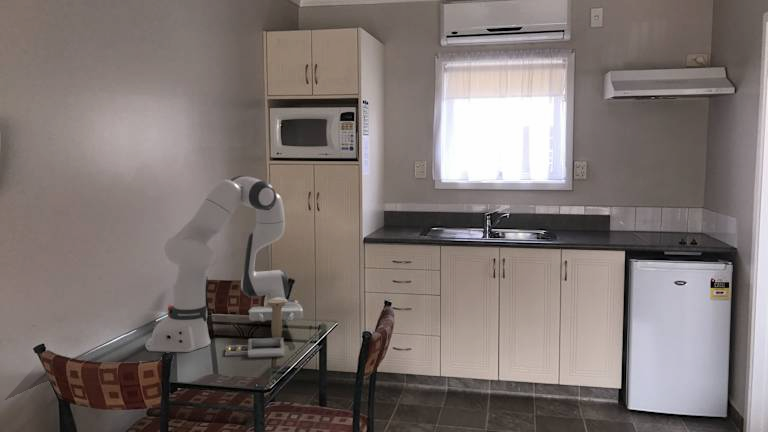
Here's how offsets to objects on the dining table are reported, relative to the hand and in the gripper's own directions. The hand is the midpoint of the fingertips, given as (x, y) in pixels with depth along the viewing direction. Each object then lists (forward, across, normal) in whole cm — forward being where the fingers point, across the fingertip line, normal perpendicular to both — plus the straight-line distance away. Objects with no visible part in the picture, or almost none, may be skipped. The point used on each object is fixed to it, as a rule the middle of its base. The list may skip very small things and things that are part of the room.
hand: (276, 319), depth 244 cm
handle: (0, 0, +8) cm, 8 cm away
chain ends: (+11, -8, +8) cm, 16 cm away
